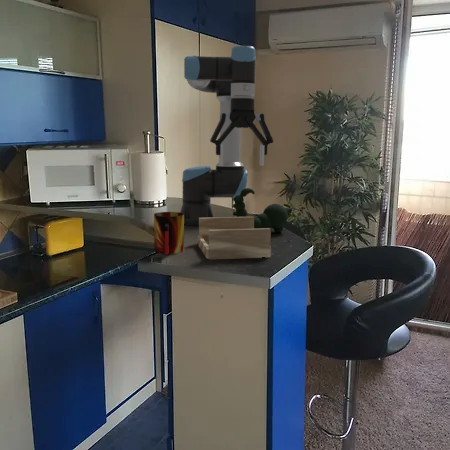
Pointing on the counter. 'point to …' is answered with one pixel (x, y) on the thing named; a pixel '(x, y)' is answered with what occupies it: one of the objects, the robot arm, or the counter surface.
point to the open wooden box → (233, 238)
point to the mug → (169, 232)
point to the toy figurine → (269, 218)
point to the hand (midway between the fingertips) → (241, 165)
